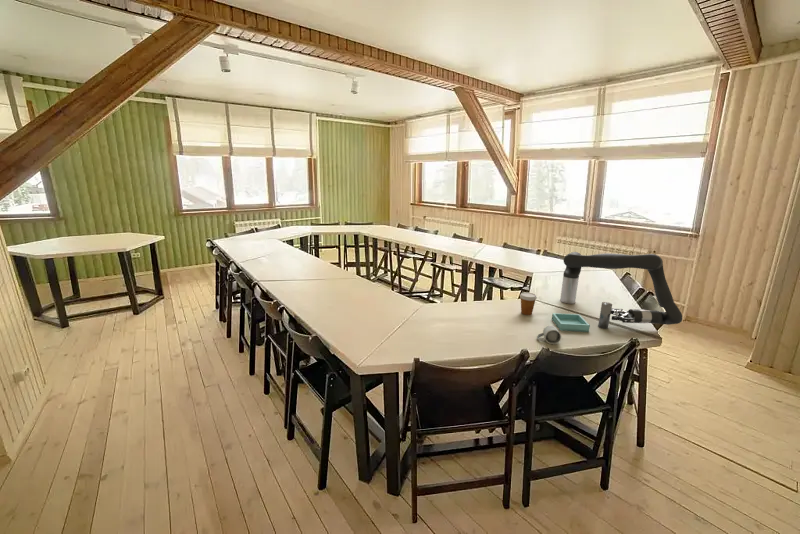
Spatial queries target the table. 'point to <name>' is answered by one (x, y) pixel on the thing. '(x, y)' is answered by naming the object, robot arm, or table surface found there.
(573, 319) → the teal box
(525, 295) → the disposable coffee cup
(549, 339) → the ceramic mug
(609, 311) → the charcoal metal canister
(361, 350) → the table surface
